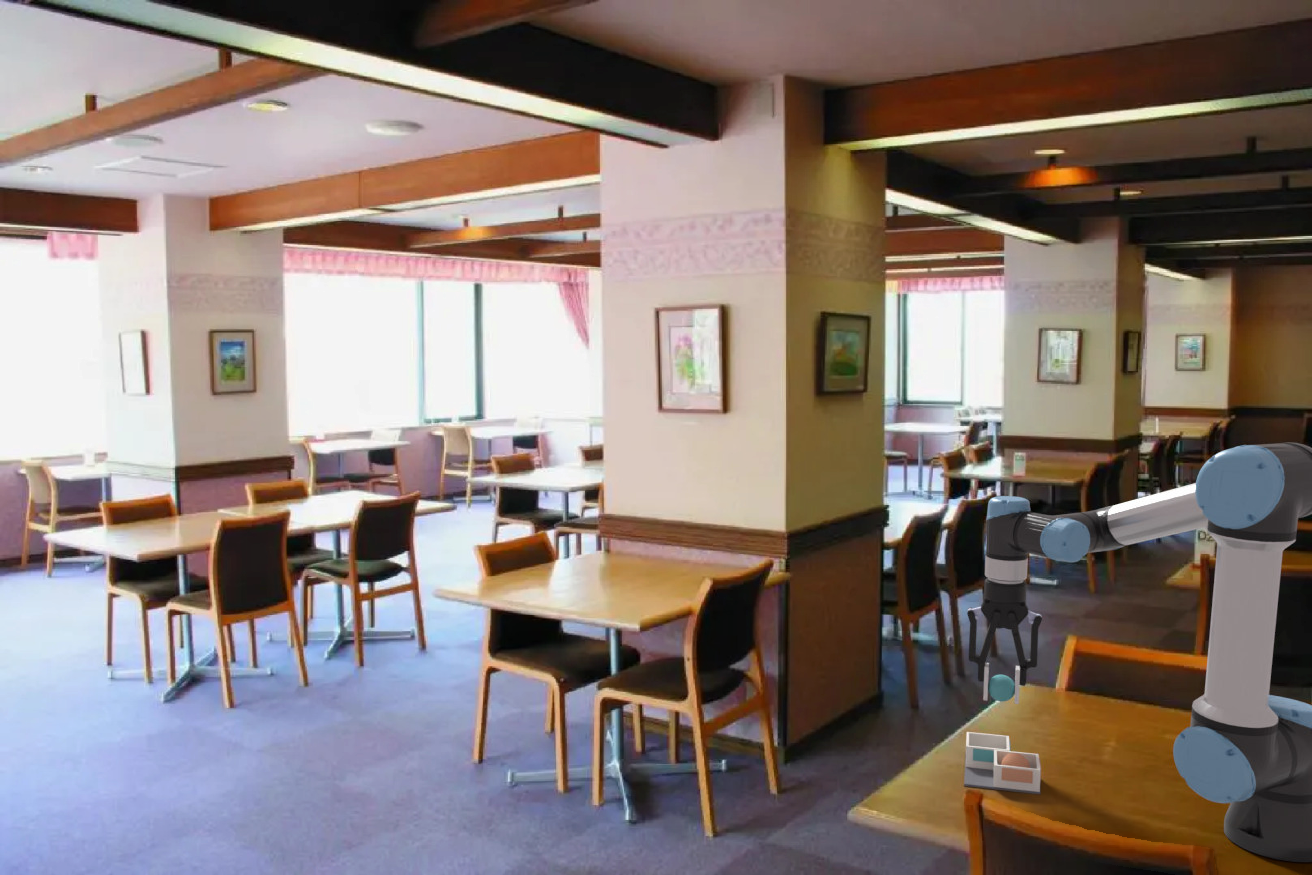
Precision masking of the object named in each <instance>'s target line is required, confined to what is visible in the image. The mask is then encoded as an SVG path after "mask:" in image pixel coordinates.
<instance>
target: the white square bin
mask: <svg viewBox="0 0 1312 875" xmlns="http://www.w3.org/2000/svg"><path fill="white" fill-rule="evenodd" d="M965 737H966V738H965V754H966V767H971V768H980V769H989V770H993V766H994V750H1004V751H1012V749H1011V740H1010V736H1009V735H1001V734H992V733H991V734H990V733H984V732H983V733H981V732H973V731H972V732H970V731H966V736H965Z"/></svg>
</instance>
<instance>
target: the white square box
mask: <svg viewBox="0 0 1312 875" xmlns="http://www.w3.org/2000/svg"><path fill="white" fill-rule="evenodd" d="M1010 753H1018V754H1021V755H1023V756H1024V757H1025V758H1026V759H1027V760H1028V762H1029V765H1030V768H1025V767H1016V766H1006V765H1001V763H1002V760H1003V758H1004V757H1005V756H1006V755H1008V754H1010ZM993 775H994V787H999V788H1008V789H1017V790H1026V791H1035V792H1040V793H1041V782H1042V765H1041V758H1040V756H1039V753H1031V752H1021V751H1012V750H1011V751H1004V750H994V766H993Z"/></svg>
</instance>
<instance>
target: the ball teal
mask: <svg viewBox="0 0 1312 875" xmlns="http://www.w3.org/2000/svg"><path fill="white" fill-rule="evenodd" d="M988 695H990V697H991V698H993V699H994V700H995V701H998V702H1002V703H1004V702H1008V701H1010V700H1011V699H1012V698H1014V697H1015V681H1014V680H1013V679H1012V678H1011V677H1009V676H1008V675H1005V674H995V675H994V676H992V677H991V678H990V679H989V680H988Z"/></svg>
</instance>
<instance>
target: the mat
mask: <svg viewBox="0 0 1312 875" xmlns="http://www.w3.org/2000/svg"><path fill="white" fill-rule="evenodd" d="M964 754H965V759H964V760H965V761H964V779H963V780H964V782H963V786H964V787H970V788H971V787H972V788H979V789H989V790H998V791H1007V792H1016V793H1022V794H1023V793H1024V794H1031V795H1032V794H1033V795H1041V791H1040V792H1035V791H1026V790H1017V789H1008V788H999V787H994V775H993V770H989V769H980V768H971V767H966V753H964Z"/></svg>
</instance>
